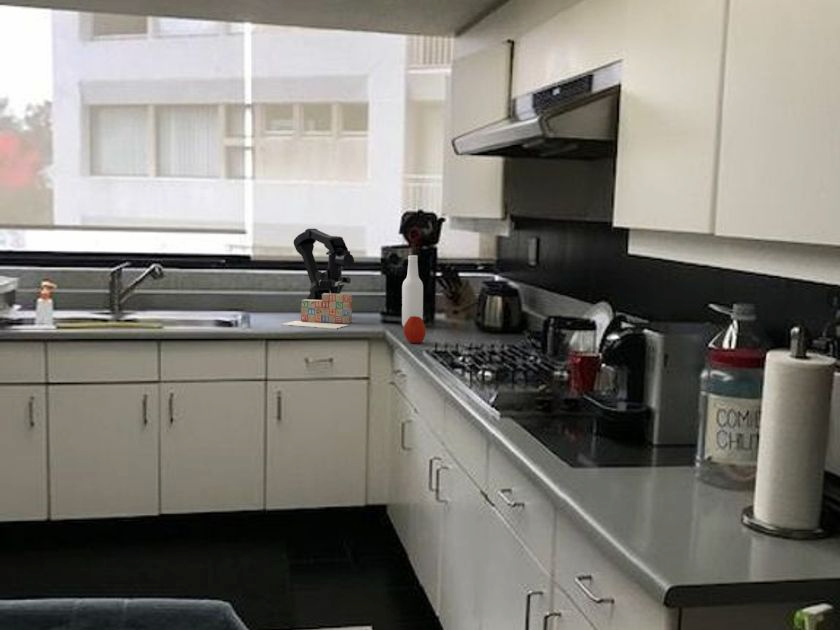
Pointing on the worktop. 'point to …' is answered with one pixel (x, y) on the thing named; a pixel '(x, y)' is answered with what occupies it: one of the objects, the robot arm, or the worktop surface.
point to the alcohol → (412, 292)
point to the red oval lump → (414, 329)
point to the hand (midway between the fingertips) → (335, 300)
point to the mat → (316, 324)
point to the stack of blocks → (328, 309)
